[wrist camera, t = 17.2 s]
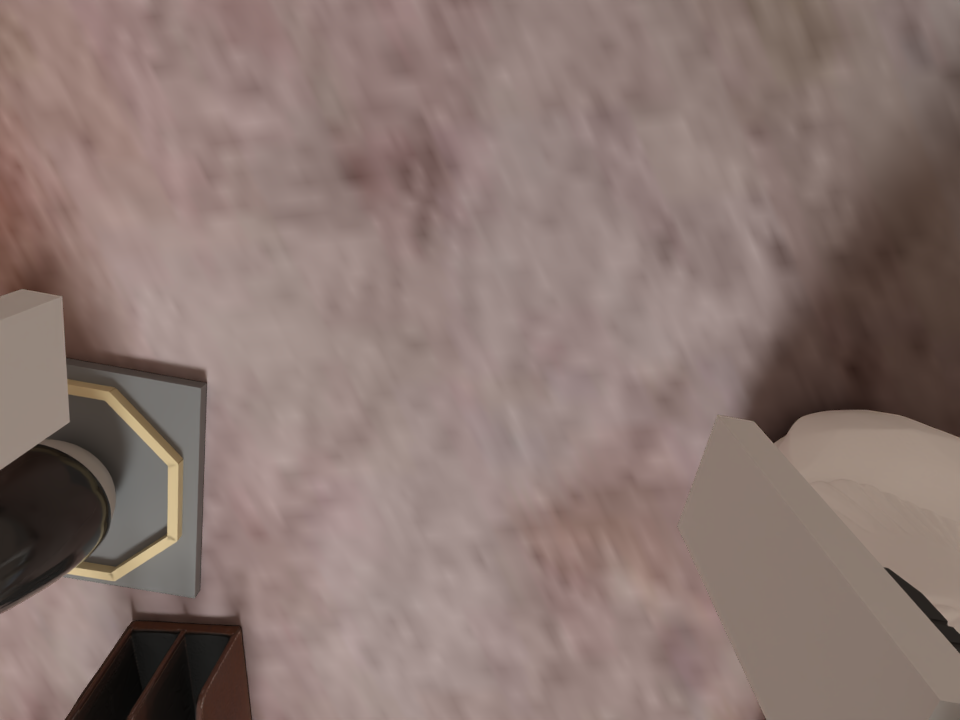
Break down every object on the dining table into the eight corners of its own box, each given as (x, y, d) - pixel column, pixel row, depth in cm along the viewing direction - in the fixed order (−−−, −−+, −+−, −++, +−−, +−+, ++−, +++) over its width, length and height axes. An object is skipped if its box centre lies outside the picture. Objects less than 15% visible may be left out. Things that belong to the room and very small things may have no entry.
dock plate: (-62, 335, 46) (-83, 343, 44) (206, 382, 47) (195, 392, 45) (-33, 552, 53) (-51, 565, 51) (200, 590, 54) (190, 605, 52)
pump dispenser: (-21, 455, 48) (-238, 590, 34) (78, 398, 46) (-106, 516, 32) (66, 550, 51) (-98, 711, 37) (164, 500, 49) (29, 650, 35)
